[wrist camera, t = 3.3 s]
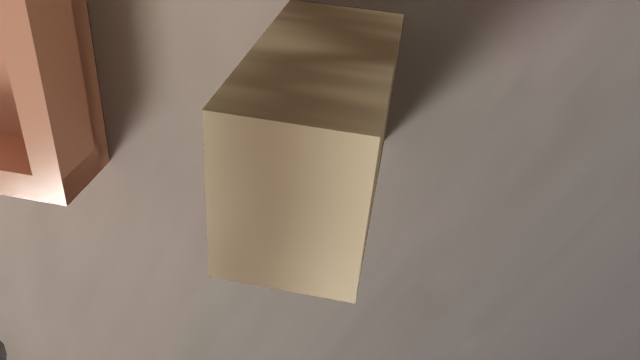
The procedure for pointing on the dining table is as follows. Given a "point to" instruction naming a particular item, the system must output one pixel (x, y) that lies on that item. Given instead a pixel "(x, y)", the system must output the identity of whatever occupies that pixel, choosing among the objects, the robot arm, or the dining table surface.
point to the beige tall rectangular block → (300, 150)
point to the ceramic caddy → (48, 101)
